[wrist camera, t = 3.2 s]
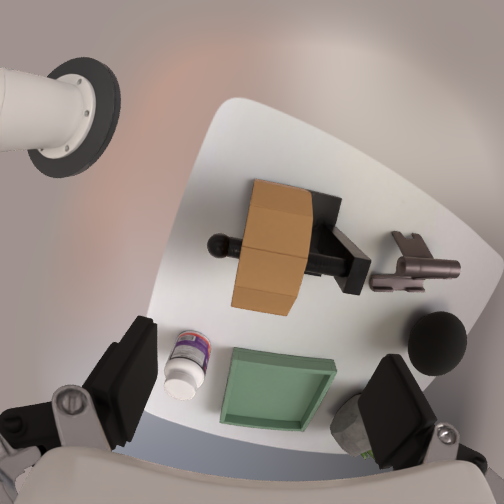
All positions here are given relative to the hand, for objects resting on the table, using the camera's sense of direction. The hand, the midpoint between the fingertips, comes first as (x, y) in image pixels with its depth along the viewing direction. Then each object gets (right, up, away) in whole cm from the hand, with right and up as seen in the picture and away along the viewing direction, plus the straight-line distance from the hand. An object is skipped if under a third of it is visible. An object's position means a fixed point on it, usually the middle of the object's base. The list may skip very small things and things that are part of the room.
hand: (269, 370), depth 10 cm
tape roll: (+1, +5, +14) cm, 15 cm away
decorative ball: (+27, -8, +27) cm, 39 cm away
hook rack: (+3, +8, +23) cm, 24 cm away
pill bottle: (-9, -9, +29) cm, 32 cm away
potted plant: (+21, -25, +33) cm, 46 cm away
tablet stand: (+19, +4, +24) cm, 31 cm away
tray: (+3, -18, +31) cm, 37 cm away
